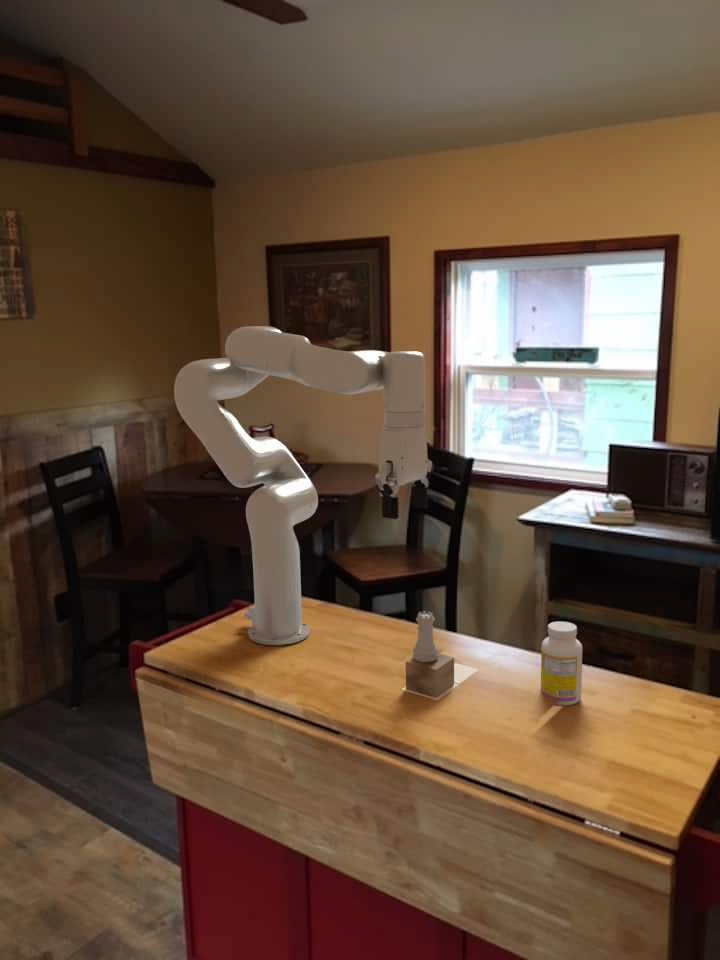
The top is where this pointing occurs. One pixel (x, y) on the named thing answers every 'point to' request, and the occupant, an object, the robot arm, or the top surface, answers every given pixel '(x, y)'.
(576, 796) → the top surface
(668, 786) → the top surface
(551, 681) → the supplement bottle
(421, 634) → the rook chess piece
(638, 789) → the top surface
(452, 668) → the walnut block
